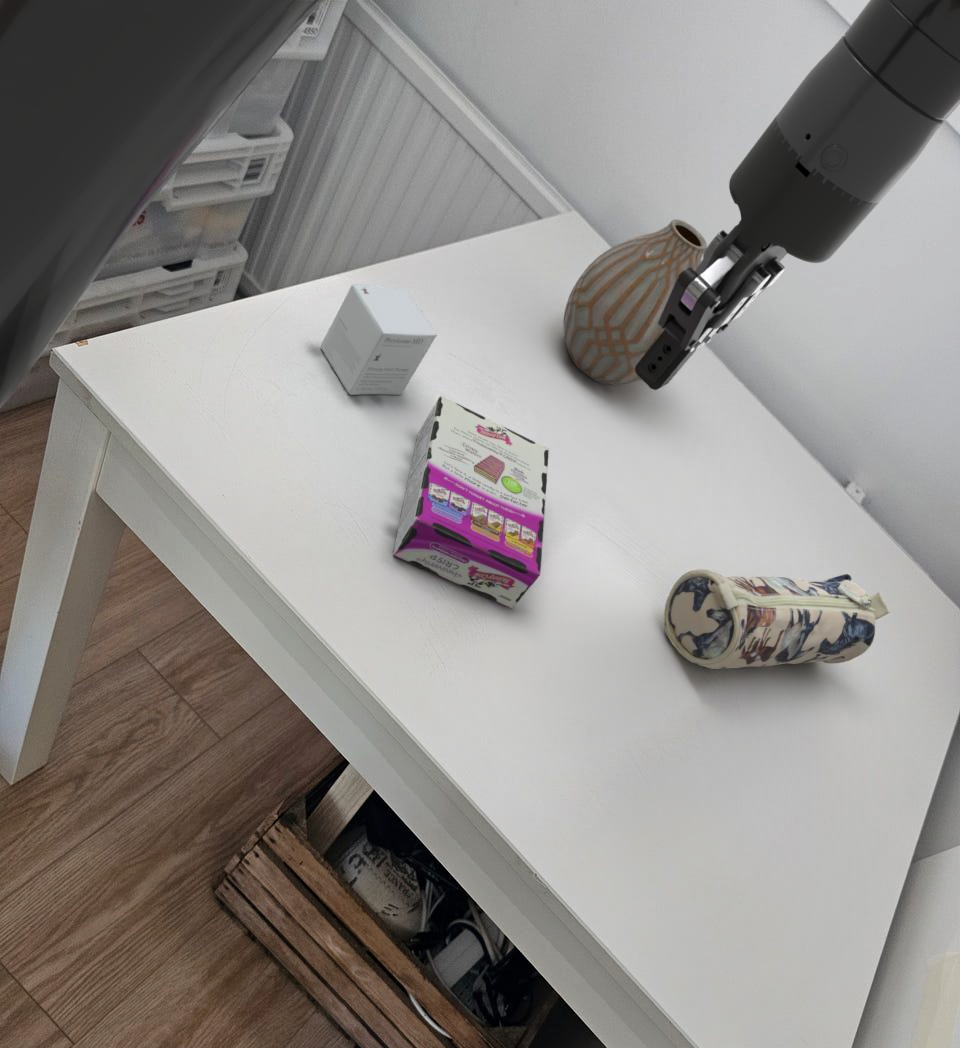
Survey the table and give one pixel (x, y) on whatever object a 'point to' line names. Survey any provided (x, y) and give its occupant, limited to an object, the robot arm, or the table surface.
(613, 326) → the vase
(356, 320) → the product box
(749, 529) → the table surface
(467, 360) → the table surface
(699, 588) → the pencil case
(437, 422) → the candy bar box
